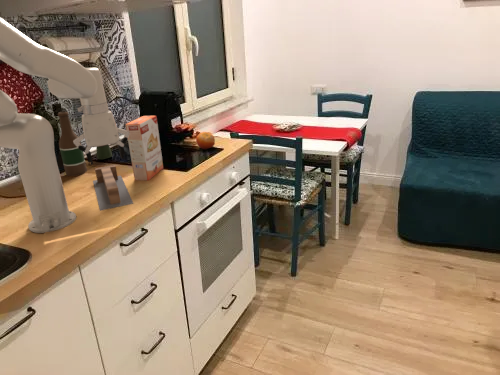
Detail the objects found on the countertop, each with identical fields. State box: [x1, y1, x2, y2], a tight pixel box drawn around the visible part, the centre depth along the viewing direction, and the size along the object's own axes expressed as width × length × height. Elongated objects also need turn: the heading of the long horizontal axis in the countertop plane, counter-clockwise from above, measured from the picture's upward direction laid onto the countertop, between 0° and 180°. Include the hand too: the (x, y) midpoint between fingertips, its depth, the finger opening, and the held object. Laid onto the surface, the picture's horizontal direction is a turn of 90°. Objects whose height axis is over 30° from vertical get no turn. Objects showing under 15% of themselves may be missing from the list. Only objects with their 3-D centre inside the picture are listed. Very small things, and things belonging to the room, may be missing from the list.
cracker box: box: [125, 115, 164, 181], centre depth 150 cm, size 14×6×21 cm, turn 168°
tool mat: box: [92, 175, 135, 212], centre depth 139 cm, size 30×10×1 cm, turn 24°
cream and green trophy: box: [95, 144, 113, 160], centre depth 175 cm, size 11×7×13 cm, turn 81°
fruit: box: [195, 131, 216, 150], centre depth 182 cm, size 8×8×8 cm
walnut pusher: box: [94, 164, 121, 204], centre depth 138 cm, size 25×7×5 cm, turn 24°
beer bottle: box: [57, 111, 88, 177], centre depth 156 cm, size 8×8×24 cm
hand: (107, 160), depth 136 cm, fingers open, 9 cm apart
